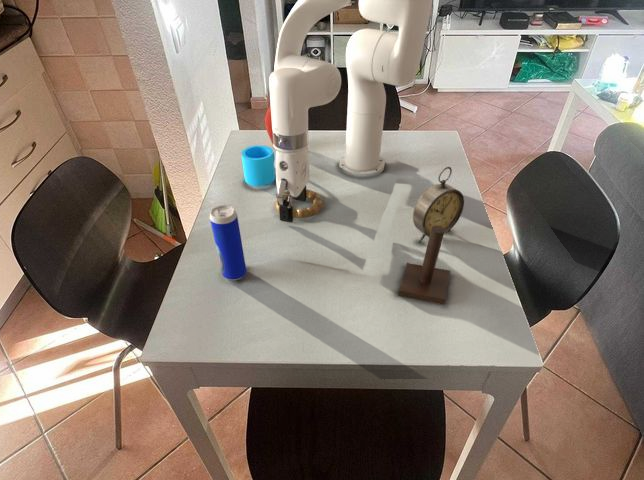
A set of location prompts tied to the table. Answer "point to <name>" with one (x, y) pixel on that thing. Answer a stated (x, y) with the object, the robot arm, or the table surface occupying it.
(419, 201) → the alarm clock
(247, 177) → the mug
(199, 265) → the table surface
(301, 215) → the ring
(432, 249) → the stand
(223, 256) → the beverage can
